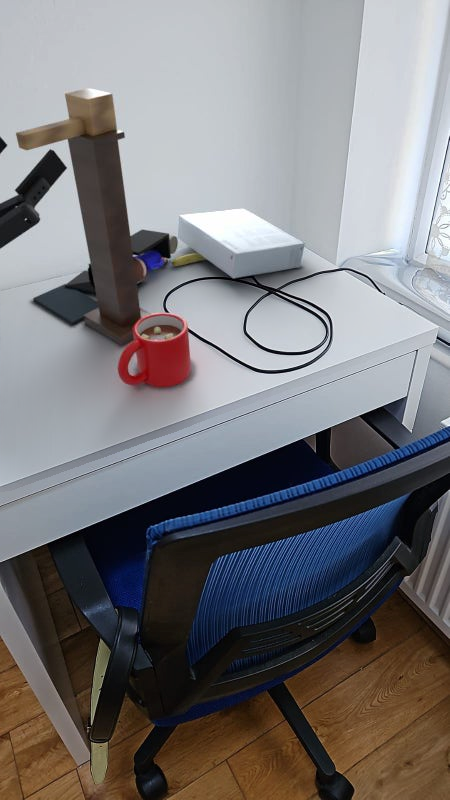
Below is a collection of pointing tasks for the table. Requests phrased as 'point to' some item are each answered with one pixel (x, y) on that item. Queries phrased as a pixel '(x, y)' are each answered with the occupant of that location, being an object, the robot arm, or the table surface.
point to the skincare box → (240, 242)
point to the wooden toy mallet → (75, 120)
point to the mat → (67, 303)
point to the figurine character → (151, 250)
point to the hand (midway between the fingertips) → (27, 146)
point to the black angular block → (85, 282)
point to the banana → (188, 259)
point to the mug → (158, 351)
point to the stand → (107, 234)
